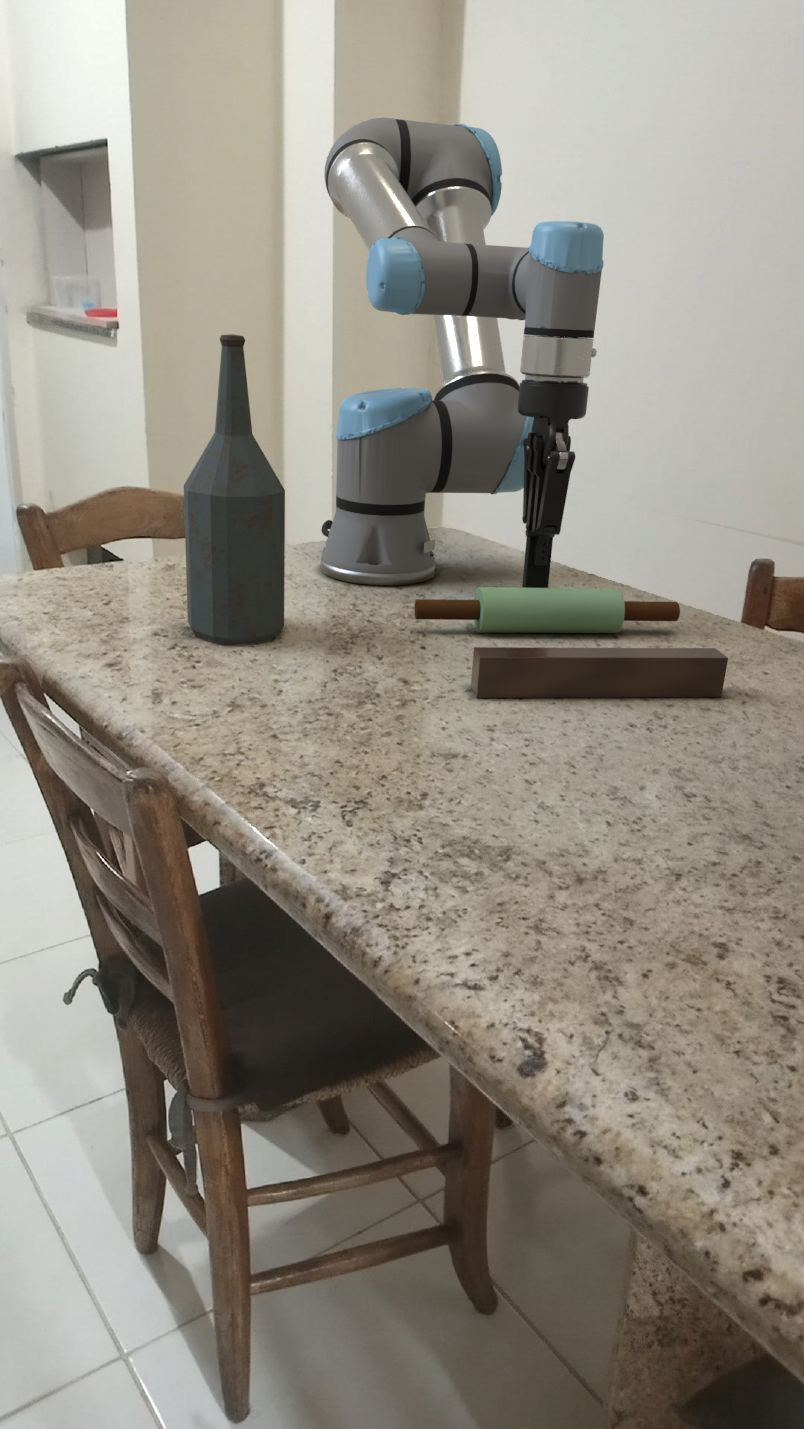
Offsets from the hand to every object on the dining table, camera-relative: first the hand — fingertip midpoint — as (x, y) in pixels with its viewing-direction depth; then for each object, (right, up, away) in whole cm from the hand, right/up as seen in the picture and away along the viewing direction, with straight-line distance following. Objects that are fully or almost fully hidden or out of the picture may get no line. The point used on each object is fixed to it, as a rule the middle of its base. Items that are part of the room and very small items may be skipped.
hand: (534, 590), depth 120 cm
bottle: (-33, -6, -10) cm, 35 cm away
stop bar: (+3, -12, -22) cm, 26 cm away
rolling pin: (+1, -1, -4) cm, 4 cm away
